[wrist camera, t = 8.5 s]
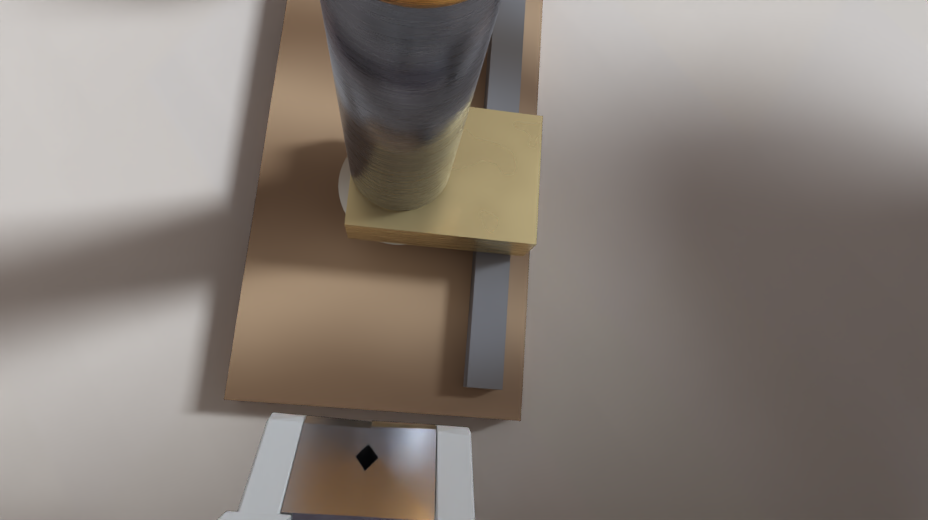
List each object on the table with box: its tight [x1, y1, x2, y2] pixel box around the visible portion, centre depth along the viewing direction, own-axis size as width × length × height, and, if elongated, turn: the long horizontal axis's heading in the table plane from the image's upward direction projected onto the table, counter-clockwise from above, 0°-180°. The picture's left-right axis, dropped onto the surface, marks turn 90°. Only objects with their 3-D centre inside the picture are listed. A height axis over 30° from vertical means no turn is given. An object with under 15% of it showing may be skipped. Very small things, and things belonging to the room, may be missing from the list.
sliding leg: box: [320, 0, 543, 256], centre depth 14 cm, size 4×6×16 cm
